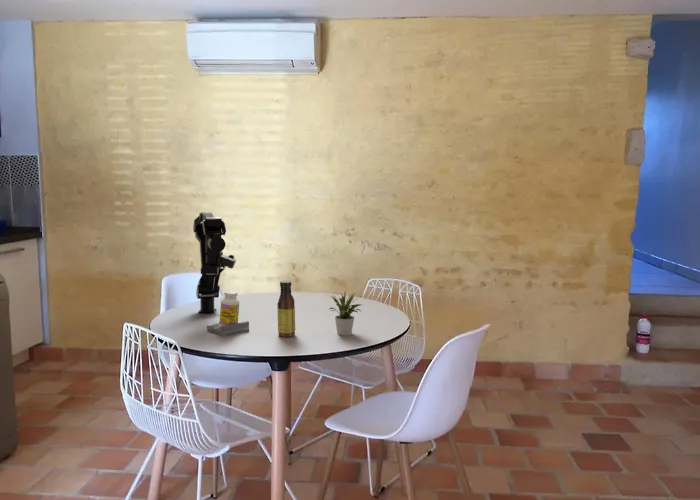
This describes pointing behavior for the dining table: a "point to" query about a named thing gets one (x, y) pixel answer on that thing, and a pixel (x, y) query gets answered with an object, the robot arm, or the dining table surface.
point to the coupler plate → (229, 328)
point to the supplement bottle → (229, 308)
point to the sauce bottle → (286, 311)
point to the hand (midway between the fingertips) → (213, 288)
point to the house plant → (345, 315)
